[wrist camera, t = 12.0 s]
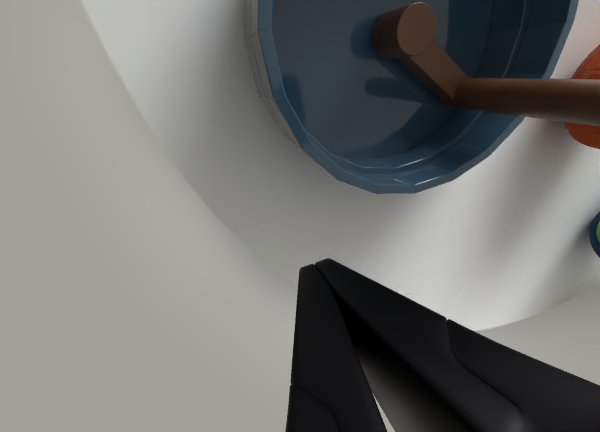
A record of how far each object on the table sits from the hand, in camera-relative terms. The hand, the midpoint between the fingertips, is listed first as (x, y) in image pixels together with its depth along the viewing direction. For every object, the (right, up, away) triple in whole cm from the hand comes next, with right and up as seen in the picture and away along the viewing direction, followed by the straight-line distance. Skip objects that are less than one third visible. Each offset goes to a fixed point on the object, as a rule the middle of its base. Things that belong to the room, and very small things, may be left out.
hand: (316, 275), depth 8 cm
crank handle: (+7, +11, +11) cm, 17 cm away
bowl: (+5, +13, +10) cm, 17 cm away
